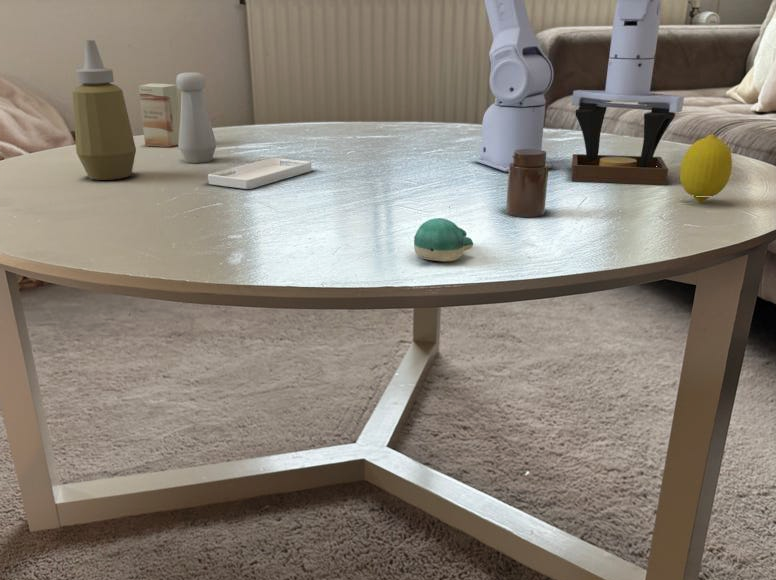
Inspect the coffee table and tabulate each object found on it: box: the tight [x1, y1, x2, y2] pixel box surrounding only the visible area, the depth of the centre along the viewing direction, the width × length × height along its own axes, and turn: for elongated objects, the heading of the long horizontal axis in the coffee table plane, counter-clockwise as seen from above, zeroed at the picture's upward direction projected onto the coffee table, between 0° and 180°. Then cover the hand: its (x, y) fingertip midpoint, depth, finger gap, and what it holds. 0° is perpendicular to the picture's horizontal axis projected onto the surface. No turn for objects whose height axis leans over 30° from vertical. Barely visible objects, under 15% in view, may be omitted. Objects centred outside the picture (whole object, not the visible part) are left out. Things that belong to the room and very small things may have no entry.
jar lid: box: [599, 157, 637, 167], centre depth 106 cm, size 5×5×2 cm
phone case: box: [207, 157, 313, 190], centre depth 107 cm, size 7×1×15 cm
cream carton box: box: [138, 82, 180, 148], centre depth 132 cm, size 5×4×10 cm
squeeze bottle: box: [72, 39, 137, 181], centre depth 104 cm, size 8×8×18 cm
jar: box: [505, 149, 550, 218], centre depth 86 cm, size 4×4×7 cm
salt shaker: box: [175, 71, 217, 164], centre depth 117 cm, size 6×6×13 cm
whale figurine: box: [413, 217, 474, 262], centre depth 72 cm, size 6×7×4 cm
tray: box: [571, 153, 669, 186], centre depth 106 cm, size 12×9×2 cm
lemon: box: [679, 134, 733, 204], centre depth 90 cm, size 6×6×8 cm
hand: (617, 163), depth 105 cm, fingers open, 7 cm apart
